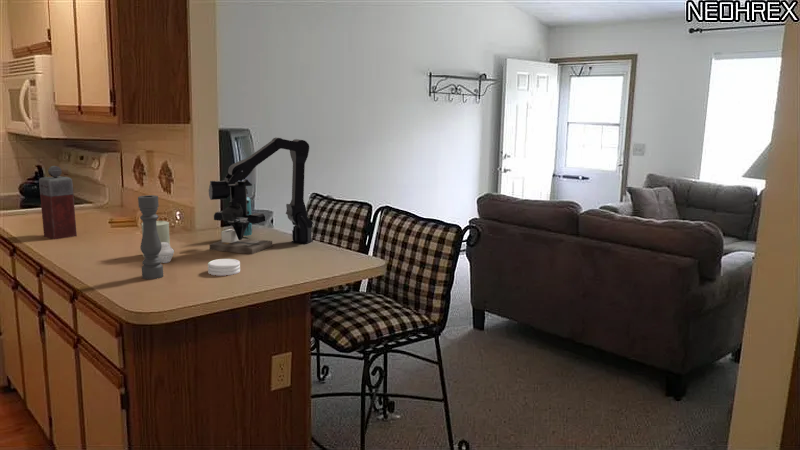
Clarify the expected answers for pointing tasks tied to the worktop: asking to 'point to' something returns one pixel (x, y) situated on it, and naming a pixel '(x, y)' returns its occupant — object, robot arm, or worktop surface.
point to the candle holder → (150, 238)
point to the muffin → (166, 252)
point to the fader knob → (229, 236)
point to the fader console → (242, 246)
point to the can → (161, 231)
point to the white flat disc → (223, 267)
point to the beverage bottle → (249, 227)
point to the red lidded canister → (57, 205)
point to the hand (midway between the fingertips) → (240, 239)
